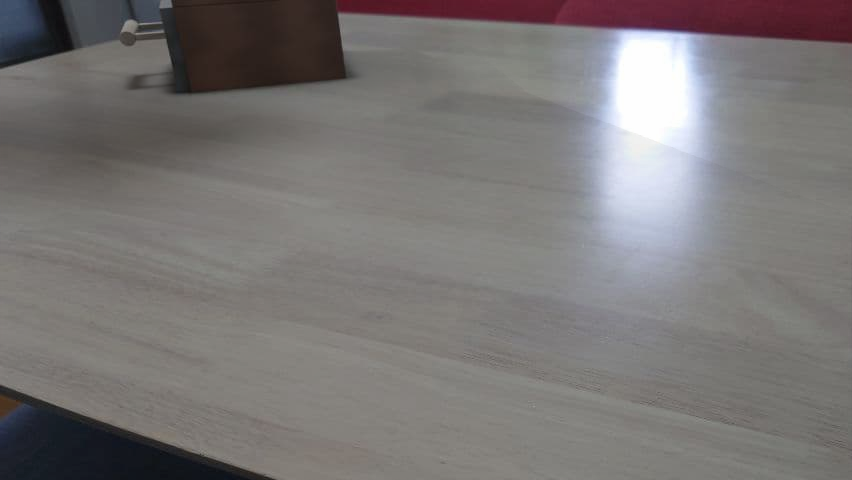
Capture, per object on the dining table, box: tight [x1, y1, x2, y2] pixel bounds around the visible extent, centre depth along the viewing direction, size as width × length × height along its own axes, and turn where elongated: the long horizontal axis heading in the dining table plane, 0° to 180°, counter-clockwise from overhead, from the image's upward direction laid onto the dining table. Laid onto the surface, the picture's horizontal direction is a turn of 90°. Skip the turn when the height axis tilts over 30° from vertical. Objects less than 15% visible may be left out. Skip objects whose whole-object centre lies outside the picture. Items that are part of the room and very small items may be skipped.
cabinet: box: [171, 0, 347, 94], centre depth 83 cm, size 15×13×10 cm
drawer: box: [118, 0, 191, 94], centre depth 82 cm, size 18×11×8 cm, turn 110°
